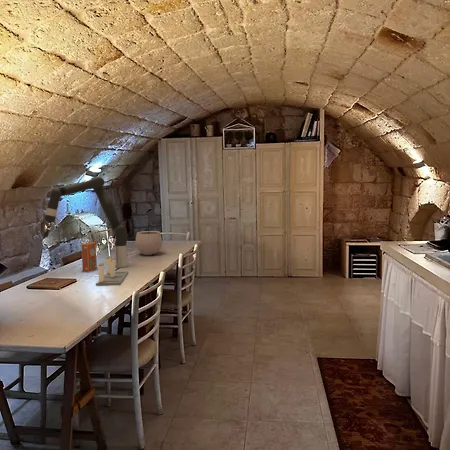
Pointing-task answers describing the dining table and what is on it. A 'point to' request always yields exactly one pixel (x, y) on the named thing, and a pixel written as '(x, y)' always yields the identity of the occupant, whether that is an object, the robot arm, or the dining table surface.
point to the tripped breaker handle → (112, 268)
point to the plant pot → (148, 242)
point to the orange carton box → (89, 256)
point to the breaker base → (105, 278)
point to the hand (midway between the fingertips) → (45, 236)
